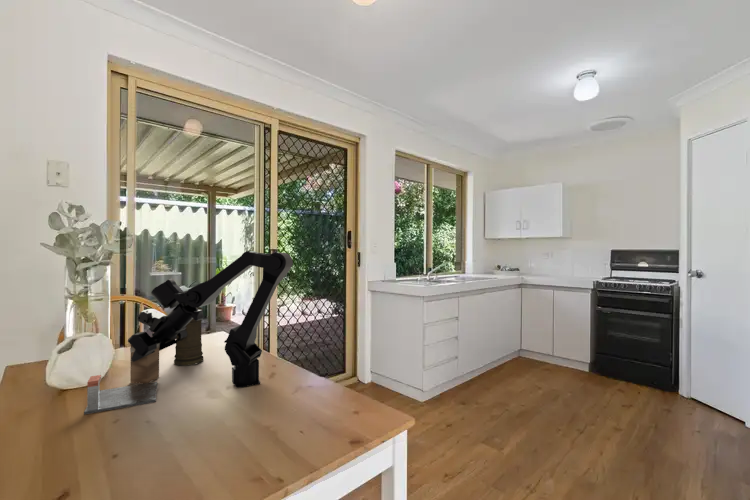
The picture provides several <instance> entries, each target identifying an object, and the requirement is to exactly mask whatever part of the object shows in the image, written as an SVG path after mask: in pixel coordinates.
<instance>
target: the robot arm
mask: <svg viewBox="0 0 750 500" xmlns="http://www.w3.org/2000/svg"><path fill="white" fill-rule="evenodd" d="M293 263H294V261H293V258H292V256H291V255H290V254H289V253H287V252H273V253H263V252H258V251H255V250H248V251H244V252H243V253H242V254H241V256H239V257H238V258H237V259H235V260H234V261H232V262H231V263H230V264H228V265H227V266H225V268H224V269H222V270H221V271H220V272H218V273H217V274H215V275H214V276H212V277H211V278H210V279H207V280H206V281H203V282H201V283H198V284H197V285H194V286H193V287H191V288H188V290H185V291H184V290H183V289H182V288H181V287H180V286H179V285H178V284H177V283H176V281H175V280H174V279H173V278H169V279H167V280H166V281H164V282H162V283H160V284H159V285H157V286H155V287H154V288H153V289H152V290H151V292H150V295H152V296H153V298H154V299H155V300H156V301H157V302H158V303H159V304H160V305H161V306H162V308H164V309H168V308H169V309H172V310H171V311H170V312H169V313H168V314H167V315H166V313H163V312H161V311H159V310H157V309H156V308H148V309H143V310H142V311H140V313H138V314H137V316H136V317H137V318H136V319H137V322H139V323H141V324H144V325H147V326H149V328H148V330H149V331H150V332H151V336H150V335H149V333H148V332H146V331H140V332H136V333H134V334H132V335H131V336H130V337H129V338H127V343H129V344H130V346H131V345H132V346H133V348H134V349H135V351H134V354H133V356H132V358H131V357H130V361H131V360H132V361H133V362H135V361H137V360H139V359H141V358H143V357H145V356H148V355H150V354H152V353H154V352H155V351H154V350H155V349H156V348H157V344H159V343H160V345H159V352H160V351H162V350H164V349H167V348H169V347H170V346H173V345H176V343H177V341H178V342H179V341H182V340H184V338H185V337H186V336H187V331H186V330H185V329H186V328H187V327H186V325H187V324H188V323H189V322H190V321H191V320H192V319H194V320H195V321H198V320H200V319H201V320H204V309H203V310H199V309H198V307H201V308H202V307H204V306H209V305H211V304H212V303H213V302H214V301H215V300H216V299H217V298H218V296H220V294H221V293H222V290H224V289H225V288H226V286H228V285H230V284H231V283H232V282H233V281H235V280H236V279H237V278H239V277H240V276H241V275H243V274H244V273H245V272H247V271H248V270H250V269H251V268H252V267H256V268H257V267H258V268H262V280H261V282H260V284H259V286H258V288H257V291H256V293H255V295H254V297H253V299H252V301H251V303H250V305H249V307H248V310H247V311H246V314H245V315H244V318H243V320H242V322H241V324H239V325H237V326H235V327H233V328H230V330H229V332H228V336H227V338H226V339H225V340H224V341H223V343H224V344H225V345H224V352H225V353H226V355H227V357H228V358H229V360H230V363H231V366H232V367H231V382H232V384H233V385H234V386H235V388H236V389H239V388H240V389H241V388H245V387H246V388H247V387H251V386H256V385H261V380H260V360H259V358H260V357H261V355H262V353H263V350H262V349H261V348H260V347H259V345H257V343H256V339H257V332H258V331H257V329H258V327H259V324H260V322H261V321H262V319H263V317H264V314H265V312H266V310H267V308H268V306H269V304H270V302H271V299H272V297H273V296H274V293H275V291H276V289H277V287H278V285H279V284H280V283H281V281H282V280H284V278H285V277H286V276H287V274H288V273H289V271H290V270H291V269H292V267H293V265H294V264H293ZM176 335H177V336H178V337H179V338H178V339H177V341H176V338H177V337H176Z"/></svg>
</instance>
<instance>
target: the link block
mask: <svg viewBox="0 0 750 500" xmlns="http://www.w3.org/2000/svg"><path fill="white" fill-rule="evenodd" d="M159 345H160V343H159V344H157V348H156V349H155V350H154V351H155V352H154V353H152V354H150V355H148V356H145V357H143V358H141V359H139V360H137V361H135V362H133V361H132V360H131V358H132V356H133V354H134V351H135V349H134V348H133V346H132V345H131V344H130V349H129V350H130V370H129V371H130V375H129V376H130V377H129V378H130V380H129V381H130V384H145V383H151V382H154V381H155V380H157V379H159V378H160V351H159Z"/></svg>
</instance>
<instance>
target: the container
mask: <svg viewBox="0 0 750 500" xmlns="http://www.w3.org/2000/svg"><path fill="white" fill-rule="evenodd" d="M198 309H199V310H203V311H204V309H203V307H202V306H201V307H198ZM202 321H203V319H200V320H198V321H195V320H194V319H192V320H191V321H190V322H189V323H188V324H187V325H186V327H187V328H186V329H185V330H186V331H187V336H186V337H185V338H184V340H182V341H179V342H178V341H177V339H178V338H179V337H178V336H177V335H176V337H177V338H176V339H175V340H176V341H177V343H176V344H175V346H174V347H175V354H174V356H173V357H174V360H173V363H174V365H175V366H183V367H184V366H185V367H186V366H193V365H197V364H200V363H202V362H203V361H204V356H203V354H204V352H203V350H202V348H203V343H202Z"/></svg>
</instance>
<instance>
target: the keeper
mask: <svg viewBox="0 0 750 500" xmlns="http://www.w3.org/2000/svg"><path fill="white" fill-rule="evenodd" d="M101 381H102V374H98V375H92V376H90V377H89V378H88V380H87V385H86V386H87V393H86V395H87V397H86V398H87V401H86V403H87V406H86V408H85V410H84V413H83V415H84V416H85V415H88V414H89V415H90V414H94V413H95V414H96V413H100V412H107V411H111V410H118V409H123V408H129V407H135V406H139V405H145V404H146V405H147V404H151V403H156V402H157V389H158V388H157V387H158V385H157V384H158V383H157V382H158V381H151V382H150V383H145V384H142V383H137V384H132V385H127V386H126V385H125V386H120V387H114V388H106V389H100V383H101Z"/></svg>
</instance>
